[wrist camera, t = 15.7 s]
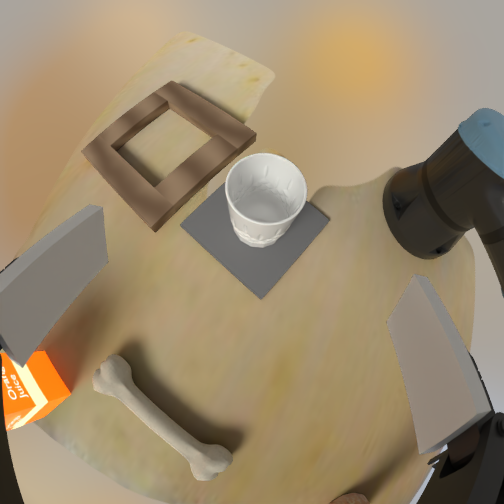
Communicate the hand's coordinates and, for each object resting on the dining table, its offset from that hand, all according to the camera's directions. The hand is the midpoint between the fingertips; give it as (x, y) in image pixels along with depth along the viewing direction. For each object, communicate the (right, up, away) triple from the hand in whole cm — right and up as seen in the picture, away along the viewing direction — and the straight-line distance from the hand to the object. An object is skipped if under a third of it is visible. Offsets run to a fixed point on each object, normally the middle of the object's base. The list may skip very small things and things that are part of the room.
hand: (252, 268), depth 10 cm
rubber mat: (+1, +4, +25) cm, 26 cm away
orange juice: (-31, -19, +17) cm, 41 cm away
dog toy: (-11, -21, +19) cm, 30 cm away
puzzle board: (-14, +17, +28) cm, 35 cm away
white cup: (+1, +4, +25) cm, 25 cm away
